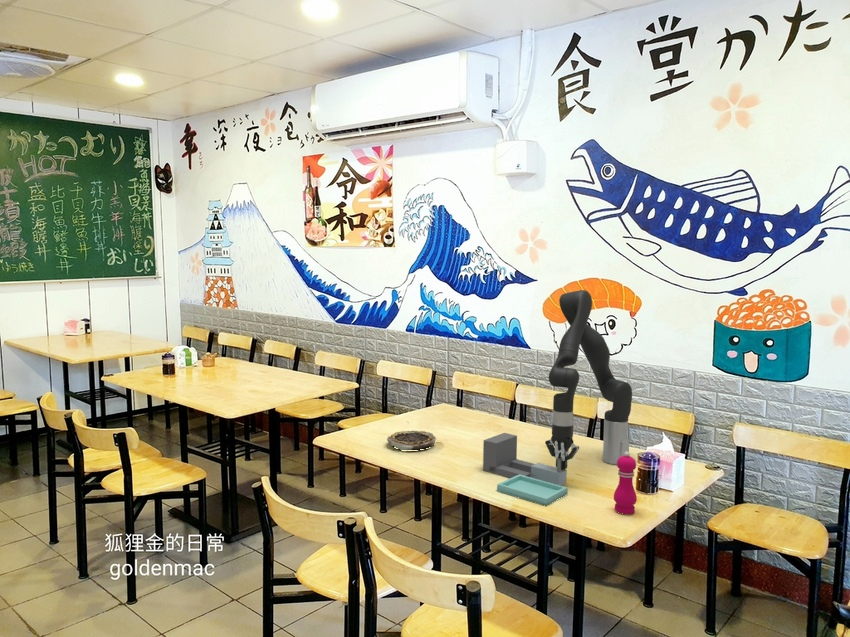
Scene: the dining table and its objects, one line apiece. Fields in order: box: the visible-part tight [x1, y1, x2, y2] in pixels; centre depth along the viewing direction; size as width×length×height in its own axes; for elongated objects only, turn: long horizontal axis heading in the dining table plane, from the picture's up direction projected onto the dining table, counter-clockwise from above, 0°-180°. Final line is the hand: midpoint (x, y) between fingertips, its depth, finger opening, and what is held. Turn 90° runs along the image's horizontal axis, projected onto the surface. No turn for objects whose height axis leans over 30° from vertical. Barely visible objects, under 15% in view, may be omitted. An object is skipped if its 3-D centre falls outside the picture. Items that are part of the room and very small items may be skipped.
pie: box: [386, 430, 437, 451], centre depth 284 cm, size 28×27×5 cm
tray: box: [496, 474, 569, 507], centre depth 230 cm, size 20×14×2 cm
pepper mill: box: [613, 451, 638, 515], centre depth 214 cm, size 7×7×20 cm
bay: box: [482, 432, 535, 479], centre depth 251 cm, size 19×14×12 cm
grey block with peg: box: [531, 456, 568, 486], centre depth 242 cm, size 12×5×10 cm, turn 48°
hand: (561, 469), depth 238 cm, fingers closed on grey block with peg, 1 cm apart
